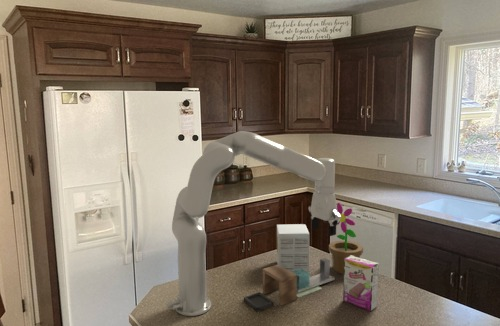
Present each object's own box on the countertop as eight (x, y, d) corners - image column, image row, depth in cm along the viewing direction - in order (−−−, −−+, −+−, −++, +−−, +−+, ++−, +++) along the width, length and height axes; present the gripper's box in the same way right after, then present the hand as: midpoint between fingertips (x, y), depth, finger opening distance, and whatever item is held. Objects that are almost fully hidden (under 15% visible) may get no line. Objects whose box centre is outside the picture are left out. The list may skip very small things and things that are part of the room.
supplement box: (276, 261, 182) (276, 224, 180) (305, 260, 182) (305, 223, 179) (278, 273, 169) (278, 233, 166) (309, 273, 169) (309, 233, 166)
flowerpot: (321, 269, 172) (322, 201, 168) (339, 260, 182) (340, 195, 178) (351, 279, 162) (353, 207, 158) (368, 268, 173) (370, 201, 168)
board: (298, 297, 148) (298, 296, 148) (281, 287, 156) (281, 286, 156) (322, 289, 154) (322, 288, 154) (305, 279, 163) (305, 278, 163)
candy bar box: (342, 301, 145) (343, 258, 142) (349, 296, 148) (350, 254, 146) (371, 312, 137) (372, 266, 135) (377, 306, 141) (379, 262, 138)
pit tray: (257, 311, 139) (257, 307, 138) (243, 301, 146) (243, 297, 146) (273, 305, 142) (273, 301, 142) (259, 295, 150) (259, 292, 150)
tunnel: (281, 305, 143) (281, 279, 141) (263, 292, 152) (262, 268, 151) (296, 299, 147) (296, 274, 145) (277, 287, 156) (277, 264, 154)
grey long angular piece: (298, 292, 150) (298, 272, 149) (287, 286, 155) (287, 267, 154) (334, 279, 161) (334, 260, 159) (323, 274, 165) (324, 256, 164)
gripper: (302, 187, 161) (302, 228, 164) (333, 195, 147) (332, 239, 150) (316, 184, 165) (315, 224, 168) (347, 192, 151) (346, 236, 154)
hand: (323, 231), depth 159 cm, fingers open, 9 cm apart
